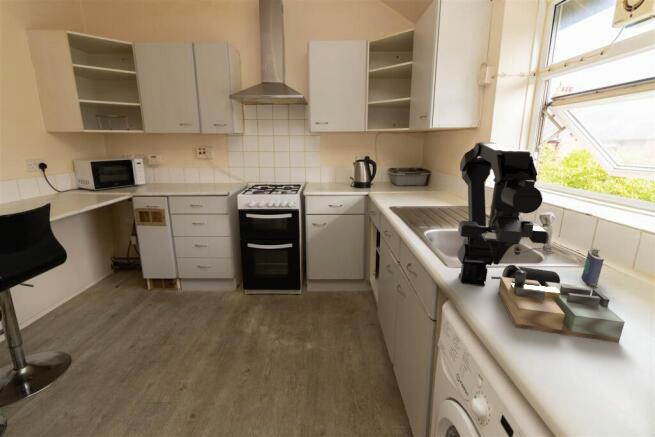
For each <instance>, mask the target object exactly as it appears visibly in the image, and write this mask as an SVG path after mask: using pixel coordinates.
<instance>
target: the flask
mask: <svg viewBox="0 0 655 437" xmlns="http://www.w3.org/2000/svg"><path fill="white" fill-rule="evenodd" d="M587 251H588V252H587V256H586V260H585V264H584V267H583V271H582V273H581V279H582V281H583V282H584V283H585V285H587V286H588V287H591V288H592V287H593V288H598V283H599V279H600V276H601V270H602V267H603V264H604V260H605V259H604V257H602V256H601V255H600V254H599V253H600V251H601V249H597V248H596V247H591V248H590V249H588V250H587Z"/></svg>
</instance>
